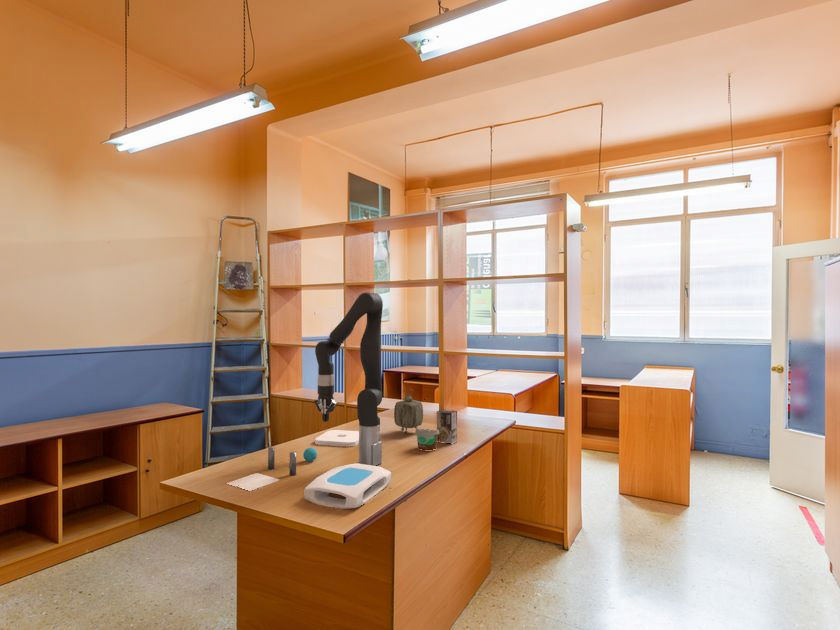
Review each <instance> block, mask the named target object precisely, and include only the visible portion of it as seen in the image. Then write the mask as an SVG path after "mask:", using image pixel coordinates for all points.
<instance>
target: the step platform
mask: <svg viewBox="0 0 840 630" xmlns="http://www.w3.org/2000/svg"><path fill="white" fill-rule="evenodd" d="M391 482H392V472H391V470H388V469H386V468H383V467H381V466H379V465H377V466H372V465H365V464H359V462H357V463H350V464H345V465H340V466H336V467H333V468H331V469H329V470H328V471H325V472H324V473H322V474H321V475H319V476H317V477H316V478H314V479H313V480H312V481H311V482H310V483H309V484H308V485H306V487H305V488H304V491H303V492H304V493H303V495H304V496H303V497H304V499H305V500H307V501H308V502H311V503H312V504H314V505H317V506H323V507H329V508H333V507H335V508H334V509H338V508H341V509H340V510H348V509H356V508H359V507H361V505H362V506H364V505H363V504H364V503H365V502H366V501H368V500H369V499H370V498H372V497H373V496H374V495H376V494H377V493H378V492H379V491H381V490H382V489H383V488H385V487H386V486H387V487H388V486H389V484H390V483H391ZM372 486H373V487H372ZM370 487H371V488H370ZM387 487H386V488H387ZM386 488H385V489H386ZM381 492H382V491H381ZM330 493H331V494H334V495H335V494H337V495H340V496H343V497H345V498H337V497H333V496H329V494H330ZM376 496H377V495H376Z"/></svg>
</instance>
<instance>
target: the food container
mask: <svg viewBox="0 0 840 630" xmlns="http://www.w3.org/2000/svg"><path fill="white" fill-rule="evenodd" d="M415 434H416V438H417V448H419V449H422V450H433V449H436V448H437V447H438V442H437V441H438V434H440V433H439V429H438V430H437V429H436V430H433V429H428V428H426V429H425V428H422V429H421V428H418V427H417V428H415ZM419 449H418V450H419ZM437 449H438V448H437Z"/></svg>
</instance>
